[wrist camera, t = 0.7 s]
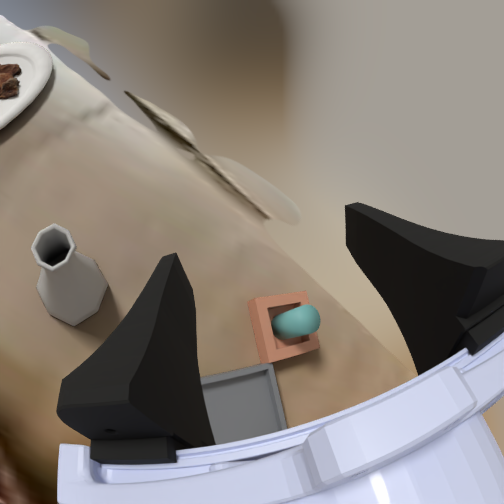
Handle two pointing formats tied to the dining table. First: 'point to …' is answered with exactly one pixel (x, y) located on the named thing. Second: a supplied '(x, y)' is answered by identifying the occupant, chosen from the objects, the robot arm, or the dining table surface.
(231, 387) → the tray
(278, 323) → the pin
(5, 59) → the plated food
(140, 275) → the dining table surface
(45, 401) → the dining table surface
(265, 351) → the salmon square dish
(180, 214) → the dining table surface
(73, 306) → the flask
